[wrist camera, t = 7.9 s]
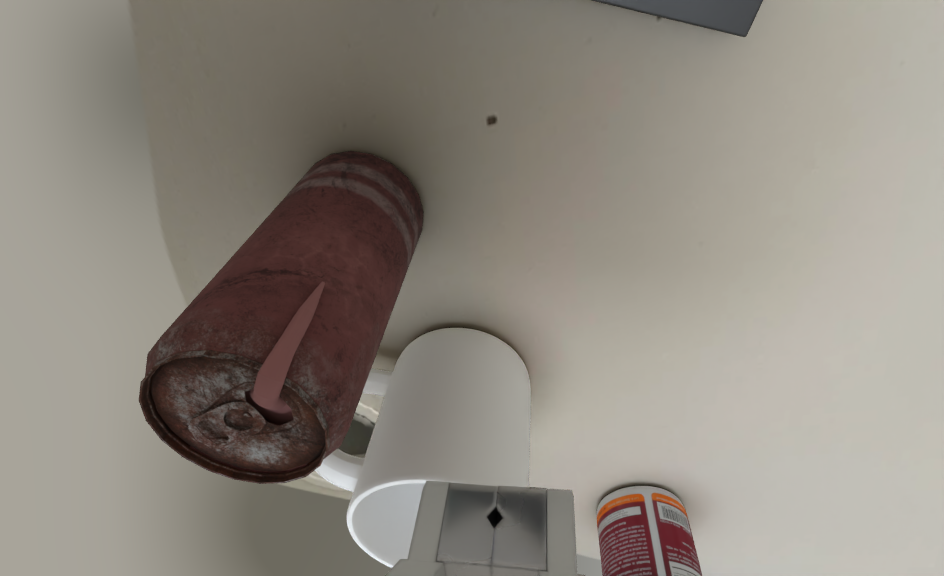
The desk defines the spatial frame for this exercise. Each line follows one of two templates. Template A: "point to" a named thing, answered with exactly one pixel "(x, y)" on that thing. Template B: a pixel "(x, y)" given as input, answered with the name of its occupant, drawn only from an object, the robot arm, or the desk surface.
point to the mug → (435, 433)
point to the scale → (699, 12)
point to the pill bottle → (645, 534)
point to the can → (288, 327)
